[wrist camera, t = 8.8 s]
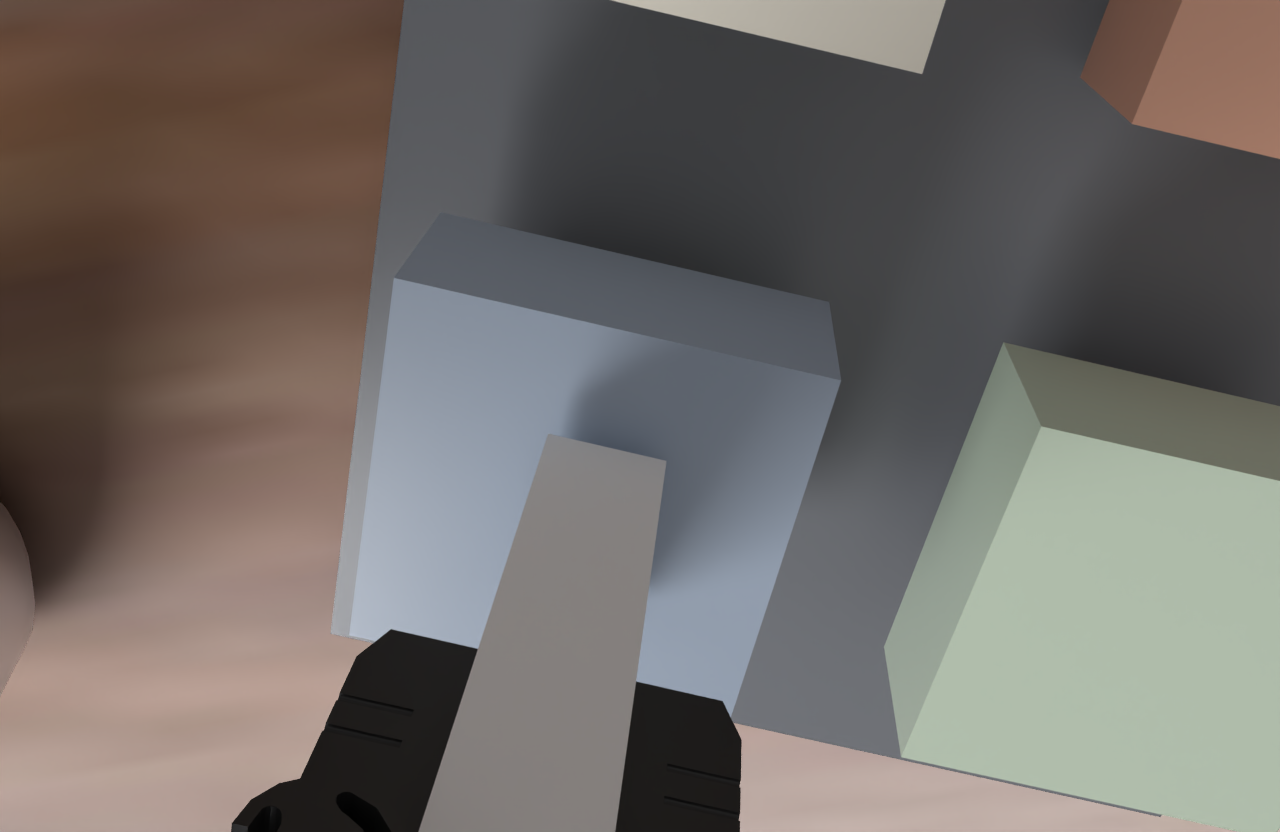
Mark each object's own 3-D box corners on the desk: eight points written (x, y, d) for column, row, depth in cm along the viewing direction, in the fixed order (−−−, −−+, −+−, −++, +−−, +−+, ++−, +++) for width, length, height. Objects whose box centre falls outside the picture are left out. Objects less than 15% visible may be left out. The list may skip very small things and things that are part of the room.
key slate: (395, 537, 19) (348, 635, 17) (440, 212, 17) (393, 277, 15) (731, 612, 19) (730, 719, 17) (828, 302, 17) (841, 380, 15)
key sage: (883, 646, 20) (900, 757, 17) (1003, 341, 17) (1041, 426, 15) (1214, 720, 20) (1272, 839, 17) (1381, 429, 17) (1475, 525, 15)
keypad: (346, 601, 24) (295, 705, 21) (541, -995, 13) (489, -1190, 11) (1145, 778, 24) (1194, 902, 21) (1933, -634, 14) (2218, -733, 11)
